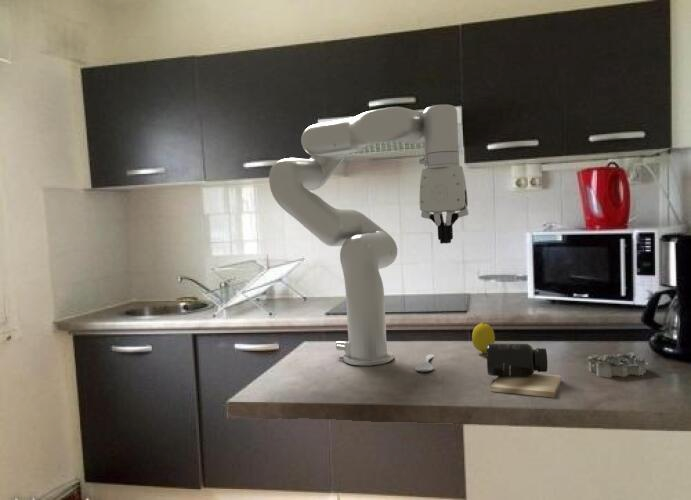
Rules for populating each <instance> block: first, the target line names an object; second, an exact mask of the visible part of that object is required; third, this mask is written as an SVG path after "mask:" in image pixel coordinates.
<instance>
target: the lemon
mask: <svg viewBox="0 0 691 500" xmlns="http://www.w3.org/2000/svg"><path fill="white" fill-rule="evenodd" d="M471 339H472V344H473V346H474V348H475V349H476V350H478V351H479V352H481V353H482V354H483V355H484V354H487V344H489V343H495V341H496V340H495V339H496V337H495V331H494V329H493V327H492V326H490V325H489V324H488V323H485V321H481V322H480V323H479V324H476V326H475V327H474V328H473V330H472V334H471Z"/></svg>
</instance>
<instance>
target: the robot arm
mask: <svg viewBox="0 0 691 500" xmlns="http://www.w3.org/2000/svg"><path fill="white" fill-rule="evenodd" d="M458 126H459V125H458V111H457V108H456V107H455V106H454V105H451V104H435V105H431V106H428V107H426V108H425V109H424V111H419V110H413V109H410V108H407V107H402V106H391V107H385V108H383V107H382V108H378V109H372V110H368V111H365V112H362V113H360V114H357V115H356V116H354V117H349V118H347V117H346V118H344V119H337V120H332V121H325V122H319V123H315V124H312V125H309V126H308V127H307V128H305V129H304V130H303V132H302V135H301V138H300V141H301V142H300V143H301V146H302V149H303V150H304V151H305V152H306V154H308V155H309V156H310V157H309V158H297V157H289V158H282V159H279V160H277V161H276V162H275V163H274V164H273V165H272V166H271V168H270V170H269V176H268V183H269V188H270V193H271V194H272V197H273V198H274V201H276V203H277V204H278V205H279V206H280V207H281V208H282V209H283V210H284V211H285V212H286V213H288V215H290V216H291V217H293V218H294V219H295V220H296V221H297V222H299V223H300V224H301V225H302V226H303V227H304V228H306V229H307V230H308V231H309V232H310V233H311V234H313V235H314V236H315V237H316V238H317V239H318V240H319V241H320V242H321V243H323V244H324V245H325V246H329V247H340V253H339V260H340V264H341V269H342V272H343V273H342V274H343V280H344V288H345V300H346V301H345V302H346V316H347V317H346V319H347V337H348V340H347V341H342V340H341V341H340V340H338V341H336V344H335V348H336V349H335V350H337V351H344V352H345V354H344V355H343V357H342V358H343V361H344V363H346V364H349V365H353V366H360V367H361V366H363V367H364V366H378V365H384V364H387V363H389V362H391V361H393V359H394V353H393V352H392V351H391V350H388V347H387V326H386V308H385V307H386V306H385V292H384V283H383V280H382V276H381V274H380V271H379V270H381V269H384V268H387V267H389V266H390V265H393V263H394V262H395V261H396V259H397V256H398V247H397V243H396V241H395V240H394V238H393V237H392V236H391V234H389V233H388V232H387V231H386V230H384V229H383V228H382V227H381V226H379V225H378V224H376V222H374V221H373V220H371V218H369V217H367V215H365V214H363V213H362V212H360V211H358V210H355V209H350V208H342V209H340V208H335V207H333V206H332V205H330V204H329V203H328V202H326V201H325V200H324V199H322V198H321V197H320V196H319V195H317V194H315V193H314V192H312V191H315V190H319V189H320V188H322V187H323V186H324V185H325V184H326V183H327V182H328V181H329V179H330V178H331V176H332V175H333V174H334V172H335V171H336V170H337V169H338V168H339V166H340V164H341V163H342V162H343V160H344V159H345V158H346V157H347V155H348V154H355V153H361V152H363V151H364V150H365V149H366V148H367V146H368V145H374V144H380V143H388V142H398V143H405V144H410V145H411V144H412V145H416V144H422V143H424V155H423V157H422V158H419V160H418V163H419V165H423V166H424V167H425V168H422V169H421V172H420V173H421V174H420V179H419V180H420V181H419V182H420V183H419V210H420V211H421V213H420V214H421V215H420V216H421V218H423V219H428V220H431V221H432V222H433V223H434V224H435V226H437V239H438V241H439V243H440V244H451V243H452V240H453V238H454V234H453V233H454V232H453V229H454V228H453V225H454V224H455V223H456V222H457V220H458V219H460V218H462V217H466V216H469V210H468V204H469V203H468V190H467V184H466V178H465V176H466V175H465V173H464V167H463V166H462V165H460V154H459V153H460V149H459V127H458ZM445 212H446V214H445V215H446V216H445V220H444V214H443V213H445Z"/></svg>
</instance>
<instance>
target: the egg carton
mask: <svg viewBox="0 0 691 500" xmlns="http://www.w3.org/2000/svg"><path fill="white" fill-rule="evenodd" d="M586 360H588V370H589V372H590V373H596V376H597V377H602V378H609V379H610V378H612V377H613V376H619V377H623V378H625V377H628V376H629V375H630V376H631V374H632V375H633V374H634V376H638V375H639V377H641V376H640V375H642V376H644V375H645V374H644V373H646V368H647V365H650V362H646V361H645V359H644V358H641V357H640V356H639V355H636V354H635V353H634V352H633V351H629V352H627V353H626V352H625V353H623V354H622V353H618V354H615V353H611V354H604V355H600V354H591V355H589V356H588V357H586ZM646 374H647V373H646Z"/></svg>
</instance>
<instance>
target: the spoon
mask: <svg viewBox="0 0 691 500" xmlns="http://www.w3.org/2000/svg"><path fill="white" fill-rule="evenodd" d="M434 357H435V354H432V353H431V354H427V355H426V357H425V360H423V361H422V363H420V364H419V365H417V366H416V367H415V370H416V371H417V372H421V373H427V372H432V371H433V370H434V369H435V368H434V366H433V365H432V363H430V362H429V361H430V360H431V359H433V358H434Z"/></svg>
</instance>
